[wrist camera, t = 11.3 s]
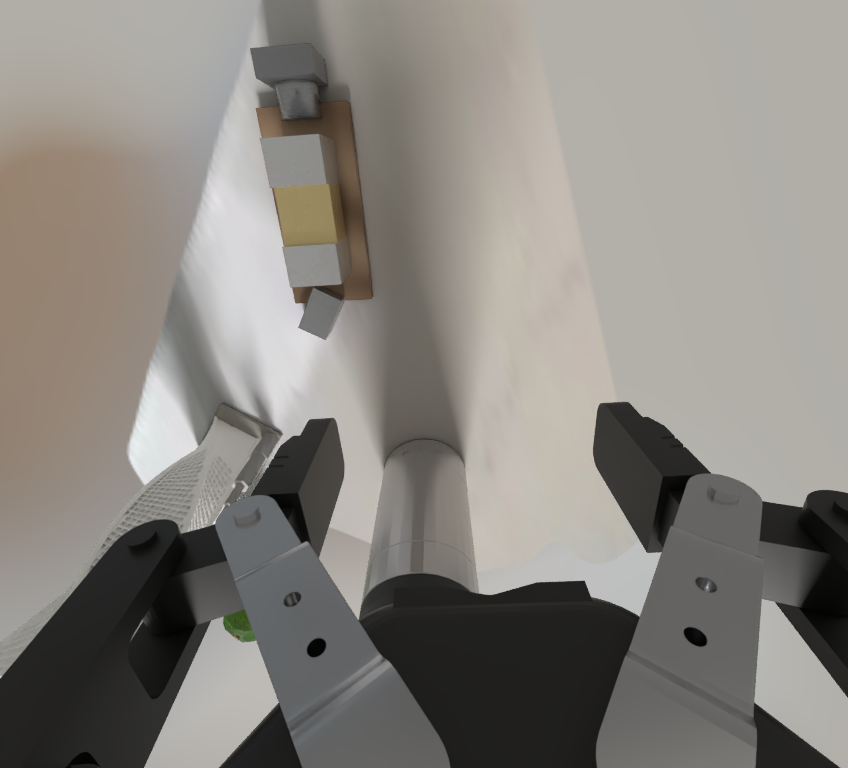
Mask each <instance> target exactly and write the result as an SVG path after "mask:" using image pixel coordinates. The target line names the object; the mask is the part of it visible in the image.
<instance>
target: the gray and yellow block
mask: <svg viewBox="0 0 848 768" xmlns="http://www.w3.org/2000/svg"><path fill="white" fill-rule="evenodd" d="M260 141H261V146H262V151H263V155H264V160H265V165H266V170H267V175H268V180H269V185H270V188H274V192H275V197H276V202H277V207H278V212H279V217H280V222H281V227H282V232H283V237H284V242H285V246H284V247H282V248H283V253H284V258H285V262H286V267H287V272H288V277H289V282H290V287H306V286H323V285H339V284H342V283H343V282H344V281H345V280H346V279H347V278H348V277H349V276H350V274H351V273H352V272H353V270H352V262H351V255H350V248H349V241H348V236H346V231H345V224H344V217H343V209H342V202H341V195H340V188H339V184H341V182H340V175H339V168H338V161H337V153H336V146H335V141H334V140H332V139H329V138H327V137H325V136H323V135H320V134H310V135H298V136H285V137H272V138H260Z"/></svg>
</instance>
